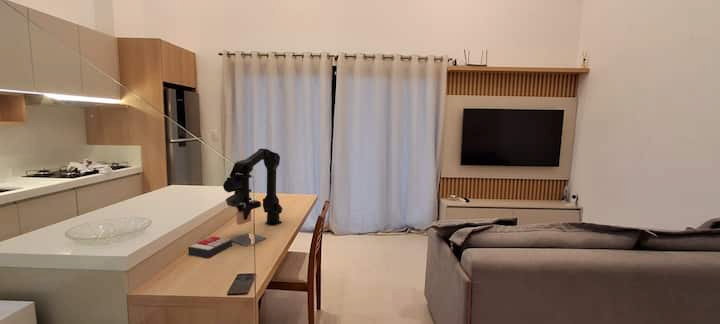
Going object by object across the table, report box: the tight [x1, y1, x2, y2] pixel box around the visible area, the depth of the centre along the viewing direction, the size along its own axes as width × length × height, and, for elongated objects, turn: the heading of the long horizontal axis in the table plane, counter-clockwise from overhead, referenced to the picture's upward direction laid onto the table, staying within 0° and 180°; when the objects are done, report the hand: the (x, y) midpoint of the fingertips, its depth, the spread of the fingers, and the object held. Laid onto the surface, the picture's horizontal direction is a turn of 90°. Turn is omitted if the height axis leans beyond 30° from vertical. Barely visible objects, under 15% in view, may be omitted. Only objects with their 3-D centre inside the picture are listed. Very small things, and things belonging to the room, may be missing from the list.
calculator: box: [187, 236, 233, 259], centre depth 150 cm, size 11×4×15 cm
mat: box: [229, 232, 267, 247], centre depth 164 cm, size 12×13×1 cm
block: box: [236, 210, 252, 226], centre depth 163 cm, size 7×2×6 cm, turn 147°
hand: (243, 219), depth 164 cm, fingers closed on block, 2 cm apart
